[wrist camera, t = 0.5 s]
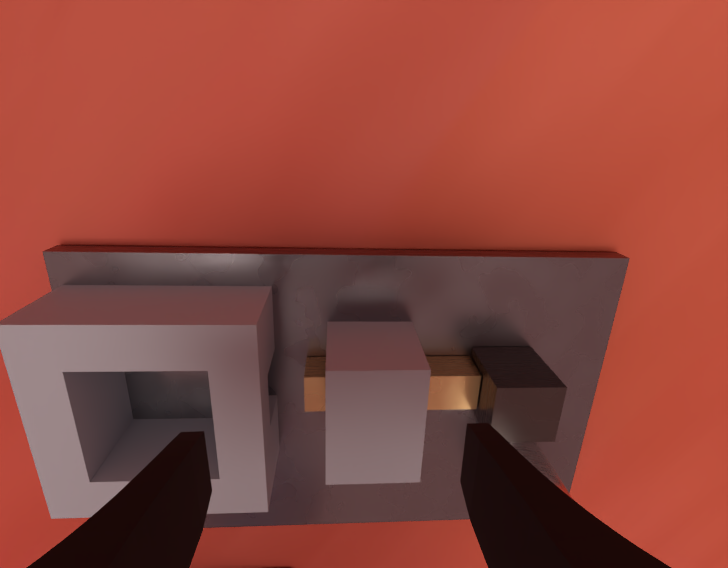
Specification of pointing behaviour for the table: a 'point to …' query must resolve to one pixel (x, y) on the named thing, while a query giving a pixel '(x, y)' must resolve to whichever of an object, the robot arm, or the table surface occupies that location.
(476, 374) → the pin
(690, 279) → the table surface
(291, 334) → the base plate
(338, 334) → the pin guide
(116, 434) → the socket
